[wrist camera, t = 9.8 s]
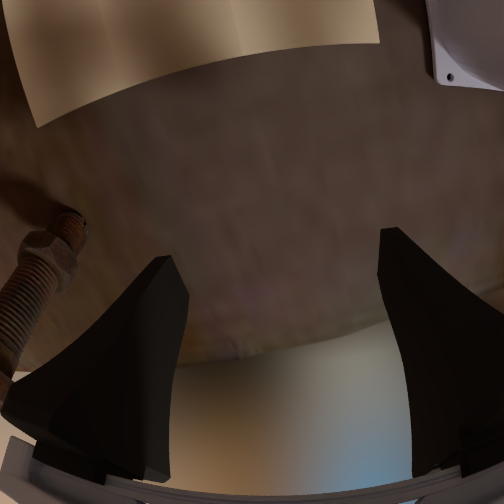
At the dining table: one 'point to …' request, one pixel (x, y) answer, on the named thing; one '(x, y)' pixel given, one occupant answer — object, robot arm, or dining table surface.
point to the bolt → (36, 286)
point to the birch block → (159, 40)
